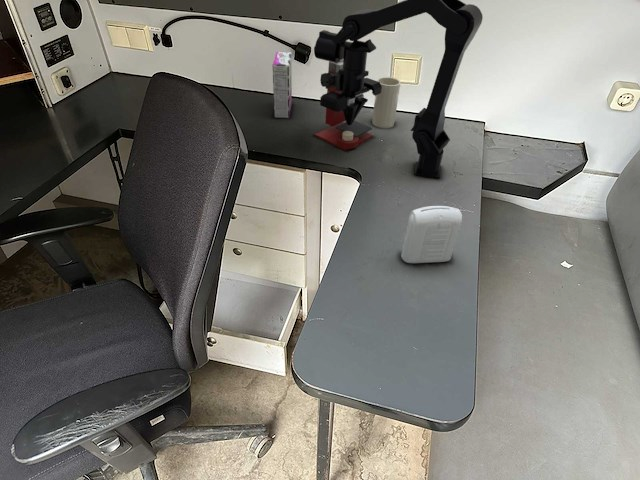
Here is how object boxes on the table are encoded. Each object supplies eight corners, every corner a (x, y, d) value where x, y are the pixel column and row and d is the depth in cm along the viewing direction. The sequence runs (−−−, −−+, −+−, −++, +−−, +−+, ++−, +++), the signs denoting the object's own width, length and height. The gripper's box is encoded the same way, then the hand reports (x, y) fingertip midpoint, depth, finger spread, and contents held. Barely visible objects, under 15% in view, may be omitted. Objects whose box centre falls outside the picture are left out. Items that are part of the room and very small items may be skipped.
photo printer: (446, 249, 99) (459, 200, 91) (453, 262, 96) (468, 213, 88) (398, 251, 97) (408, 202, 90) (404, 265, 94) (414, 215, 86)
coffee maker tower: (372, 129, 135) (380, 66, 124) (356, 137, 131) (362, 73, 120) (341, 116, 141) (346, 55, 130) (325, 123, 137) (328, 61, 126)
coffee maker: (376, 138, 136) (377, 130, 135) (348, 153, 129) (349, 145, 127) (341, 123, 143) (341, 116, 141) (313, 136, 135) (313, 128, 134)
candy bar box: (276, 103, 152) (275, 51, 142) (291, 104, 152) (292, 51, 142) (273, 118, 144) (271, 63, 133) (289, 119, 144) (289, 64, 133)
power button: (355, 139, 131) (355, 133, 130) (348, 142, 129) (348, 136, 128) (346, 135, 132) (347, 129, 131) (339, 138, 131) (340, 133, 129)
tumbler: (392, 129, 141) (399, 87, 133) (370, 126, 142) (375, 84, 134) (394, 120, 146) (401, 78, 138) (373, 117, 147) (378, 75, 139)
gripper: (352, 50, 128) (348, 105, 137) (305, 66, 117) (303, 125, 126) (386, 61, 122) (378, 118, 132) (339, 79, 111) (335, 139, 121)
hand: (349, 124), depth 128 cm, fingers closed
